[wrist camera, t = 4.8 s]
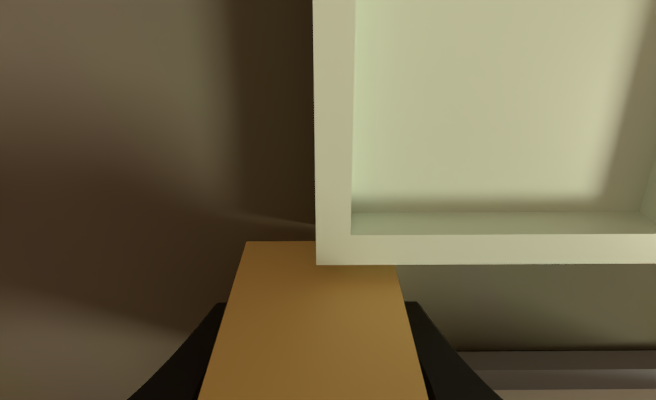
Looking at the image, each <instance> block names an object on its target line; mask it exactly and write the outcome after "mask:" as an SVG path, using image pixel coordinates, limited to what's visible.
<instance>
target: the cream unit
mask: <svg viewBox="0 0 656 400" xmlns="http://www.w3.org/2000/svg"><path fill="white" fill-rule="evenodd" d="M457 353H458V354H459V355H460V356H461V358H462V359H463V360H464V361H465V362H466V363H467V364H468V365H469V366H470V367H471V369H472V370H473V371H474V372H475V373H476V374H477V375H478V376H479V377H480V378H481V379H482V380H483V381H484V382H485V383H486V384H487V385H488V386H489V387H490V388H491V389H492V390H493V391H494V392H495V393H496V394H497V395H499V396H500V397H501V398H502V399H503V400H656V350H643V351H490V352H457Z"/></svg>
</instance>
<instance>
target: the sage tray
mask: <svg viewBox="0 0 656 400" xmlns="http://www.w3.org/2000/svg"><path fill="white" fill-rule="evenodd" d="M313 61H314V135H315V210H316V265H439V264H629V263H656V0H313Z"/></svg>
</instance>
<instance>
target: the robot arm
mask: <svg viewBox="0 0 656 400" xmlns="http://www.w3.org/2000/svg"><path fill="white" fill-rule="evenodd" d="M404 304H405V308H406V312H407V316H408V320H409V324H410V328H411V332H412V336H413V340H414V344H415V348H416V352H417V356H418V360H419V364H420V368H421V372H422V375H423V379H424V383H425V387H426V391H427V395H428V399H429V400H503V399H502V398H501V397H500V396H499V395H497V394H496V393H495V392H494V391H493V390H492V389H491V388H490V387H489V386H488V385H487V384H486V383H485V382H484V381H483V380H482V379H481V378H480V377H479V376H478V375H477V374H476V373H475V372H474V371H473V370H472V369H471V367H470V366H469V365H468V364H467V363H466V362H465V361H464V360H463V359H462V358H461V356H460V355H459V354H458V353H457V352H456V351H455V349H454V348H453V347H452V346H451V345H450V344H449V342H448V341H447V340H446V339H445V338H444V336H443V335H442V334H441V333H440V331H439V330H438V329H437V327H436V326H435V325H434V324H433V322H432V321H431V320H430V318H429V317H428V316H427V314H426V313H425V311H424V310H423V309H422V307H421V306H420V305H419V304H418V303H417V302H404ZM226 306H227V303H217V304H216V305H215V306H214V307H213V308H212V310H211V311H210V312H209V313H208V315H207V316H206V317H205V318H204V320H203V321H202V322H201V323H200V324H199V326H198V327H197V328H196V329H195V330H194V332H193V333H192V334H191V335H190V336H189V337H188V339H187V340H186V341H185V342H184V343H183V344H182V345H181V346H180V348H179V349H178V350H177V351H176V352H175V353H174V354H173V355H172V357H171V358H170V359H169V360H168V361H167V362H166V363H165V364H164V365H163V366H162V367H161V368H160V369H159V370H158V371H157V372H156V373H155V374H154V375H153V376H152V377H151V378H150V379H149V380H148V381H147V382H146V383H145V384H144V385H143V386H142V387H141V388H139V389H138V390H137V391H136V392H135V393H134V394H133V395H132V396H131V397H130V398H128V399H127V400H198V397H199V394H200V390H201V387H202V384H203V381H204V377H205V374H206V371H207V368H208V364H209V361H210V358H211V355H212V351H213V348H214V345H215V342H216V338H217V335H218V332H219V329H220V325H221V322H222V319H223V316H224V312H225V309H226Z"/></svg>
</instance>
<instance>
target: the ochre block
mask: <svg viewBox="0 0 656 400" xmlns="http://www.w3.org/2000/svg"><path fill="white" fill-rule="evenodd" d="M198 400H429V399H428V395H427V391H426V387H425V383H424V379H423V375H422V372H421V368H420V364H419V360H418V356H417V352H416V348H415V344H414V340H413V336H412V332H411V328H410V324H409V320H408V316H407V312H406V308H405V304H404V300H403V296H402V292H401V288H400V284H399V280H398V276H397V272H396V268H395V265H316V241H246V244H245V248H244V251H243V254H242V257H241V261H240V264H239V267H238V270H237V273H236V277H235V280H234V283H233V286H232V290H231V293H230V296H229V299H228V303H227V306H226V309H225V312H224V316H223V319H222V322H221V325H220V329H219V332H218V335H217V338H216V342H215V345H214V348H213V351H212V355H211V358H210V361H209V364H208V368H207V371H206V374H205V377H204V381H203V384H202V387H201V390H200V394H199V397H198Z"/></svg>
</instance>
